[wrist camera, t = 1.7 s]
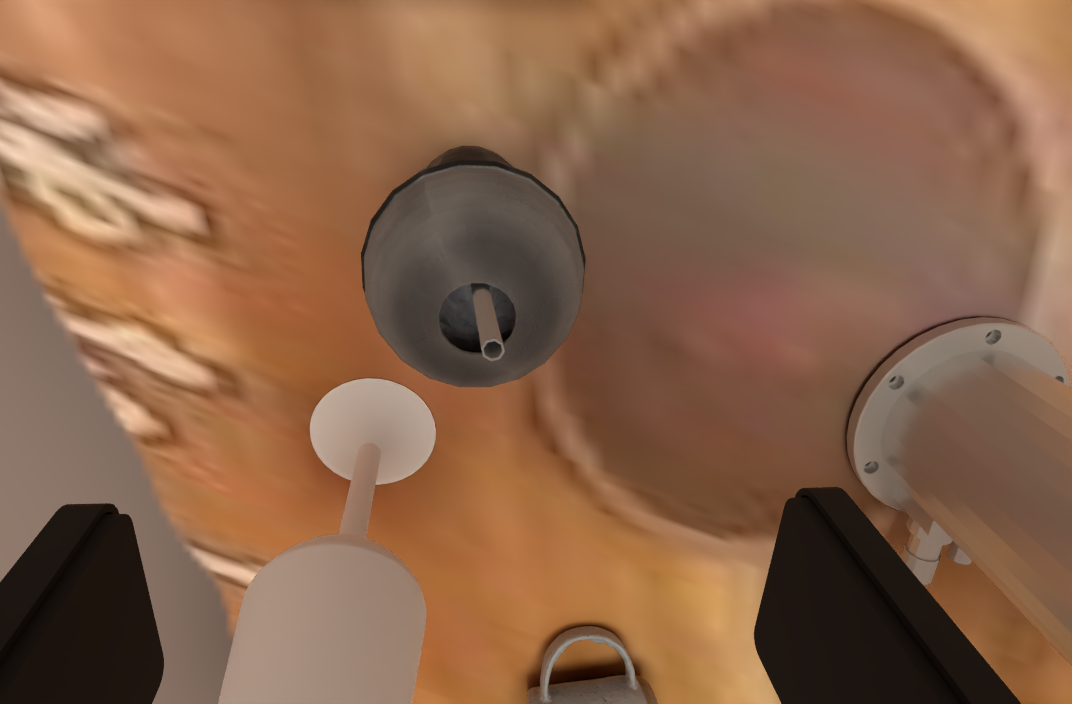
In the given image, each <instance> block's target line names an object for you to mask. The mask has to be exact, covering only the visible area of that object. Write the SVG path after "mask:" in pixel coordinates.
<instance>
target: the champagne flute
mask: <svg viewBox="0 0 1072 704" xmlns="http://www.w3.org/2000/svg"><path fill="white" fill-rule="evenodd" d="M310 438H311V441H312V445H313V448H314V450H315V452H316V453H317V455H318V457H319V458H320V459H321V461H322V462H323V463H324V464H325V465H326V466H327V467H328V468H329V469H331V470H332V471H333V472H334V473H336V474H338V475H340V476H341V477H343V478H345V479H348V480H351V484H350V488H349V492H348V496H347V501H346V505H345V509H344V513H343V518H342V522H341V526H340V530H339V534H332V535H325V536H320V537H316V538H313V539H310V540H307V541H304V542H300V543H298V544H296V545H294V546H292V547H290V548H288V549H286V550H285V551H283V552H282V553H280V554H278V555H277V556H276V557H274V558H273V559H272V560H271V561H269V562H268V563H267V564H265V565H264V566H263V568H262V569H261V570H260V571H259V572H258V574H257V575H256V576H255V577H254V579H253V580H252V582H251V583H250V584H249V587H248V589H247V591H246V593H245V595H244V597H243V602H242V606H241V610H240V614H239V618H238V623H237V627H236V631H235V635H234V639H233V644H232V648H231V652H230V656H229V660H228V665H227V669H226V673H225V677H224V681H223V686H222V690H221V694H220V698H219V702H218V704H412V700H413V694H414V688H415V683H416V677H417V671H418V666H419V660H420V654H421V649H422V643H423V637H424V632H425V626H426V611H427V610H426V606H425V601H424V597H423V593H422V589H421V587H420V585H419V583H418V581H417V579H416V578H415V576H414V575H413V574H412V572H411V571H410V570H409V568H408V567H407V566H406V565H405V564H404V562H403V561H402V560H401V559H400V558H399V557H397V556H396V555H395V554H394V553H392V552H391V551H390V550H388V549H387V548H386V547H384V546H382V545H380V544H379V543H377V542H375V541H373V540H370V539H367V538H366V535H367V529H368V524H369V518H370V513H371V507H372V502H373V496H374V490H375V485H381V484H388V483H393V482H396V481H399V480H402V479H404V478H406V477H408V476H410V475H412V474H413V473H415V472H416V471H417V470H418V469H420V468H421V467H422V466H423V464H424V463H425V462H426V461H427V460H428V458H429V456H430V454H431V453H432V451H433V448H434V444H435V440H436V428H435V422H434V419H433V416H432V414H431V412H430V410H429V408H428V407H427V405H426V404H425V403H424V401H423V400H422V399H421V398H420V397H419V396H418V395H416V394H415V393H414V392H413V391H411V390H410V389H408V388H406V387H405V386H403V385H400V384H398V383H395V382H393V381H388V380H383V379H373V378H365V379H358V380H353V381H350V382H347V383H344V384H341V385H340V386H338V387H336V388H334V389H332V390H331V391H330V392H329V393H327V394H326V395H325V396H324V397H323V398H322V399H321V401H320V402H319V403H318V404H317V406H316V408H315V410H314V412H313V414H312V417H311V423H310Z"/></svg>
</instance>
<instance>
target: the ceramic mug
mask: <svg viewBox="0 0 1072 704" xmlns="http://www.w3.org/2000/svg"><path fill="white" fill-rule="evenodd" d="M578 640H591V641H594V642H596V643H606V644H607V645H608V646H610V647H614V648H615V649H616V650H617V651H618V652H619V654H620V655H621V656H622V657H623V660H624V663H625V669H626V675H619V676H611V677H605V678H599V679H593V680H584V681H575V682H567V683H559V684H553V685H548V684H549V678H550V674H551V670H552V667H553V665H554V663H555V661H556V660H557V659H558V657H559V656H560V654H562V653H563V651H564V650H565V648H566V647H568V646H569V645H570V644H572V643H573V642H575V641H578ZM527 693H528V700H529V704H658V703H657V700H656V698H655V695H654V692H653V690H652V688H651V686H650V685H649V683H648V682H647V681H646V680H645V679H643V678H642V677H640V676H637V675H636V676H635V672H634V667H633V664H632V661H631V659H630V657H629V654H628V652H627V650H626V648H625V646H624V645H623V644H622V642H621V641H620V640H619V639H618V638H617V637H616V636H615V635H614V634H613V633H611V632H609V631H607V630H605V629H603V628H599V627H594V626H583V627H577V628H572V629H569V630H567V631H565V632H563V633H562V634H560V635H559V636H558V637H557V638H556V639H555V640H554V641H553V642H552V644H551V645H550V646H549V648H548V649H547V652H546V654H545V657H544V659H543V663H542V668H541V676H540V686H539V687H533V688H530V689H529V690H528V692H527Z"/></svg>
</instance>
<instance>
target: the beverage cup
mask: <svg viewBox="0 0 1072 704" xmlns="http://www.w3.org/2000/svg"><path fill="white" fill-rule="evenodd" d="M585 260H586V259H585V255H584V250H583V246H582V242H581V238H580V234H579V230H578V226H577V224H576V223H575V221H574V220H573V218H572V217H571V215H570V213H569V212H568V210H567V209H566V207H565V206H564V204H563V202H562V201H561V199H560V198H559V196H557V195H556V194H555V193H554V192H552V191H551V190H550V189H549V188H547V187H546V186H545V185H544V184H542V183H541V182H540V181H539V180H537V179H536V178H535V177H534V176H533V175H531V174H529V173H527V172H524V171H521V170H519V169H516V168H513V167H512V166H511V165H510V164H509V163H508V162H507V161H505V160H504V159H503V158H502V157H500V156H499V155H498V154H496V153H494V152H492V151H489V150H487V149H484V148H481V147H476V146H462V147H458V148H455V149H451V150H448V151H447V152H445V153H444V154H442V155H441V156H439V157H438V158H437V159H435V160H434V161H432V162H431V163H430V165H429V166H428V167H427V168H426V169H424V170H422V171H420V172H419V173H417V174H416V175H415V176H413V177H412V178H410V179H409V180H407V181H406V182H404V183H403V184H402V185H400V186H399V187H397V188H396V189H394V190H393V191H392V192H391V193H390V195H389V196H388V197H387V199H386V200H385V202H384V203H383V204H382V206H381V207H380V208H379V210H378V211H377V213H376V214H375V215H374V217H373V218H372V219H371V222H370V225H369V229H368V232H367V235H366V239H365V242H364V245H363V249H362V252H361V261H362V282H363V289H364V292H365V297H366V301H367V304H368V306H369V309H370V311H371V314H372V316H373V319H374V321H375V324H376V326H377V329H378V331H379V334H380V335H381V336H382V337H383V339H384V340H385V341H386V342H387V343H388V345H389V346H390V347H391V348H392V349H393V350H394V352H395V353H396V354H397V355H398V356H399V358H400V359H401V360H402V361H403V362H405V363H406V364H408V365H409V366H411V367H413V368H414V369H416V370H417V371H419V372H420V373H422V374H423V375H425V376H427V377H428V378H430V379H434V380H437V381H440V382H444V383H447V384H451V385H454V386H458V387H492V386H495V385H499V384H502V383H506V382H509V381H513V380H516V379H520V378H521V377H523V376H524V375H526V374H528V373H529V372H531V371H532V370H534V369H536V368H537V367H539V366H540V365H542V364H544V363H545V362H546V361H547V360H548V359H549V357H550V356H551V355H552V354H553V353H554V352H555V351H556V349H557V348H558V347H559V346H560V345H561V344H562V343H563V341H564V340H565V339H566V338H567V336H568V334H569V332H570V330H571V327H572V325H573V323H574V321H575V318H576V316H577V314H578V311H579V309H580V306H581V300H582V292H583V282H584V271H585Z"/></svg>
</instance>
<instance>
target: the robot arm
mask: <svg viewBox="0 0 1072 704" xmlns="http://www.w3.org/2000/svg"><path fill="white" fill-rule="evenodd" d="M847 452H848V456H849V460H850V463H851V466H852V469H853V471H854V472H855V474H856V476H857V477H858V479H859V480H860V482H861V483H862V484H863V485H864V486H865V487H866V488H867V490H868V491H869V492H870V493H871V494H872V495H873V496H874V497H876V498H877V499H878V500H880V501H881V502H882V503H884V504H885V505H887V506H890V507H892V508H894V509H897V510H899V511H903V512H907V513H908V514H909V517H908V520H907V525H906V527H907V528H908V530H909V532H910V533H911V535H910V538H909V541H908V542H907V543H906V544H905V546H904V549H903V552H902V555H901V558H900V557H899V556H898V554H897V553H896V552H895V551H894V550H893V548H892V547H891V546H890V545H889V544H888V542H887V541H886V540H885V539H884V538H883V536H882V535H881V534H880V533H879V531H878V530H877V529H876V528H875V527H874V525H873V524H872V523H871V522H870V521H869V519H868V518H867V517H866V516H865V515H864V513H863V512H862V511H861V510H860V509H859V507H858V506H857V505H856V504H855V503H854V501H853V500H852V499H851V498H850V496H849V495H848V494H847V493H846V492H845V491H844V490H843V489H841V488H838V487H827V488H802V489H800V490H799V491H798V492H797V494H796V496H795V498H790V499H788V500H787V502H786V504H785V507H784V511H783V515H782V519H781V523H780V527H779V531H778V535H777V539H776V543H775V547H774V551H773V555H772V559H771V563H770V568H769V572H768V576H767V580H766V584H765V588H764V592H763V596H762V600H761V604H760V608H759V612H758V616H757V620H756V625H755V630H754V640H755V646H756V650H757V653H758V655H759V658H760V660H761V662H762V664H763V666H764V668H765V670H766V672H767V674H768V676H769V678H770V680H771V683H772V685H773V687H774V689H775V691H776V693H777V695H778V697H779V699H780V701H781V703H782V704H1021V703H1020V702H1019V700H1018V699H1017V698H1016V697H1015V696H1014V694H1013V693H1012V692H1011V691H1010V689H1009V688H1008V687H1007V686H1006V685H1005V683H1004V682H1003V681H1002V680H1001V679H1000V677H999V676H998V675H997V674H996V673H995V671H994V670H993V669H992V668H991V667H990V665H989V664H988V663H987V662H986V661H985V659H984V658H983V657H982V656H981V655H980V653H979V652H978V651H977V650H976V648H975V647H974V646H973V645H972V644H971V642H970V641H969V640H968V639H967V638H966V636H965V635H964V634H963V633H962V632H961V630H960V629H959V628H958V627H957V626H956V624H955V623H954V622H953V621H952V620H951V618H950V617H949V616H948V615H947V613H946V612H945V611H944V610H943V609H942V607H941V606H940V605H939V604H938V603H937V601H936V600H935V599H934V598H933V597H932V595H931V594H930V593H929V592H928V591H927V589H926V588H925V587H924V586H923V585H928V584H930V583H931V582H932V579H933V576H934V573H935V571H936V568H937V565H938V563H939V560H940V557H941V556H940V552H941V549H942V546H943V545H947V544H950V545H949V548H948V551H947V553H946V554H947V556H948V557H949V558H950V559H951V560H953V561H954V562H956V563H959V564H963V565H969V564H971V563H972V561H973V562H974V564H975V565H976V566H977V567H978V568H979V569H980V570H981V571H982V572H983V573H984V574H985V575H986V576H987V577H988V578H989V579H990V580H991V581H992V583H993V584H994V585H995V586H996V587H997V588H998V589H999V590H1000V591H1001V592H1002V593H1003V594H1004V595H1005V596H1006V597H1007V598H1008V599H1009V600H1010V602H1011V603H1012V604H1013V605H1014V606H1015V607H1016V608H1017V609H1018V610H1019V611H1020V612H1021V613H1022V614H1023V615H1024V616H1025V617H1026V618H1027V619H1028V621H1029V622H1030V623H1031V624H1032V625H1033V626H1034V627H1035V628H1036V629H1037V630H1038V631H1039V632H1040V633H1041V634H1042V635H1043V636H1044V637H1045V638H1046V640H1047V641H1048V642H1049V643H1050V644H1051V645H1052V646H1053V647H1054V648H1055V649H1056V650H1057V651H1058V652H1059V653H1060V654H1061V655H1062V656H1063V657H1064V659H1065V660H1066V661H1067V662H1068V663H1069V664H1070V665H1071V666H1072V388H1070V386H1069V377H1068V371H1067V368H1066V366H1065V363H1064V361H1063V358H1062V356H1061V355H1060V353H1059V352H1058V351H1057V349H1056V348H1055V347H1054V345H1053V344H1052V343H1051V342H1049V341H1048V340H1047V339H1045V338H1044V337H1043V336H1041V335H1040V334H1039V333H1037V332H1035V331H1033V330H1031V329H1029V328H1028V327H1026V326H1024V325H1022V324H1020V323H1016V322H1013V321H1009V320H1006V319H1002V318H987V317H979V318H971V319H963V320H958V321H955V322H951V323H948V324H945V325H941V326H938V327H936V328H934V329H932V330H930V331H928V332H926V333H924V334H922V335H919V336H918V337H916V338H915V339H913V340H912V341H910V342H909V343H907V344H906V345H904V346H903V347H901V348H900V349H898V350H897V351H896V352H895V353H894V354H893V355H892V356H890V357H889V358H888V359H887V360H886V361H885V362H884V363H883V364H882V365H881V366H880V367H879V368H878V369H877V371H876V372H875V373H874V374H873V375H872V377H871V378H870V379H869V380H868V382H867V383H866V385H865V387H864V388H863V390H862V392H861V393H860V395H859V397H858V398H857V400H856V403H855V406H854V408H853V411H852V414H851V416H850V420H849V426H848V431H847ZM163 669H164V657H163V652H162V647H161V643H160V639H159V634H158V630H157V626H156V621H155V617H154V613H153V609H152V605H151V600H150V596H149V591H148V587H147V583H146V578H145V574H144V570H143V565H142V561H141V557H140V552H139V548H138V544H137V539H136V535H135V531H134V526H133V522H132V520H131V518H130V516H129V515H127V514H119V512H118V509H117V508H116V507H115V506H114V505H113V504H67V505H64V506H62V507H61V508H60V509H59V510H58V511H57V512H56V513H55V514H54V515H53V517H52V518H51V519H50V521H49V522H48V523H47V524H46V525H45V527H44V528H43V529H42V531H41V532H40V533H39V534H38V536H37V537H36V538H35V539H34V541H33V542H32V543H31V544H30V546H29V547H28V548H27V549H26V551H25V552H24V553H23V554H22V556H21V557H20V558H19V560H18V561H17V562H16V563H15V564H14V566H13V567H12V568H11V570H10V571H9V572H8V573H7V575H6V576H5V577H4V578H3V580H2V581H1V582H0V704H152V702H153V700H154V698H155V695H156V693H157V691H158V688H159V686H160V683H161V680H162V675H163Z"/></svg>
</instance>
